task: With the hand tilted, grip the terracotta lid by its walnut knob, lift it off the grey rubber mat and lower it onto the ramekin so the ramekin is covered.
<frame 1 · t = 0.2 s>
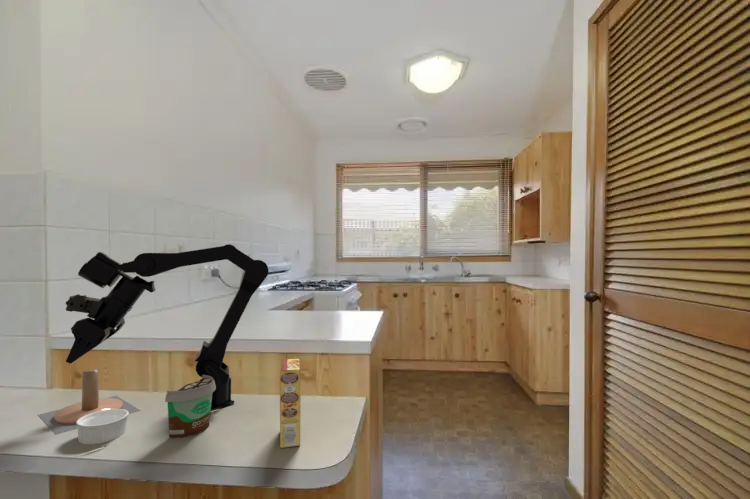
hand: (75, 357, 85), 15 cm above the countertop, tool tilted 35°, fingers open, 9 cm apart
ramekin: (102, 438, 78), on the countertop
mat: (89, 414, 89), on the countertop
food container: (197, 430, 82), on the countertop
lid: (89, 412, 89), resting on mat
candy box: (289, 438, 78), on the countertop
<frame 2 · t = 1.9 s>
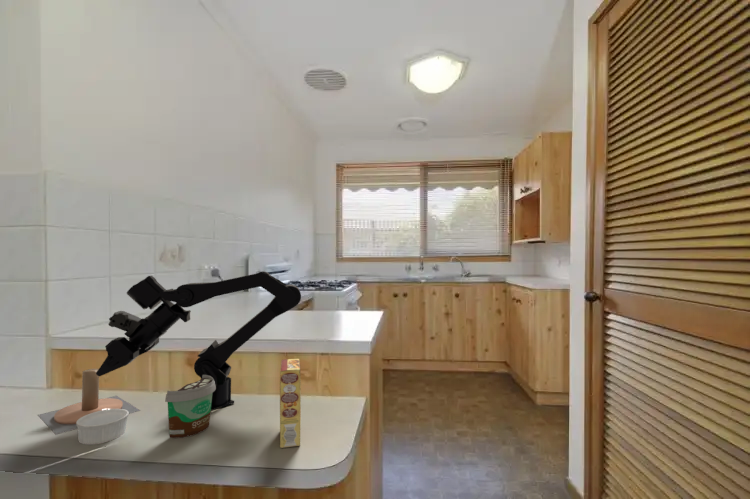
hand: (107, 369, 90), 10 cm above the countertop, tool tilted 45°, fingers open, 9 cm apart
nothing on the countertop moved.
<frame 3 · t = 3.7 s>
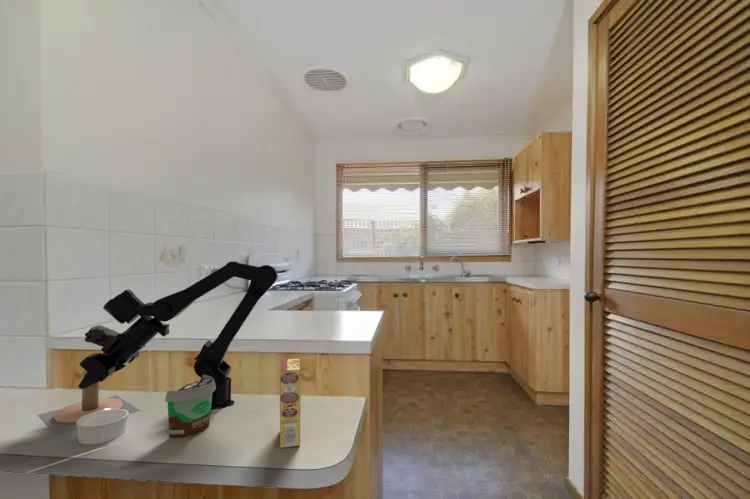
hand: (83, 385, 89), 7 cm above the countertop, tool tilted 45°, fingers closed on lid, 3 cm apart
lid: (89, 412, 89), resting on mat, touching gripper
everything else where it was.
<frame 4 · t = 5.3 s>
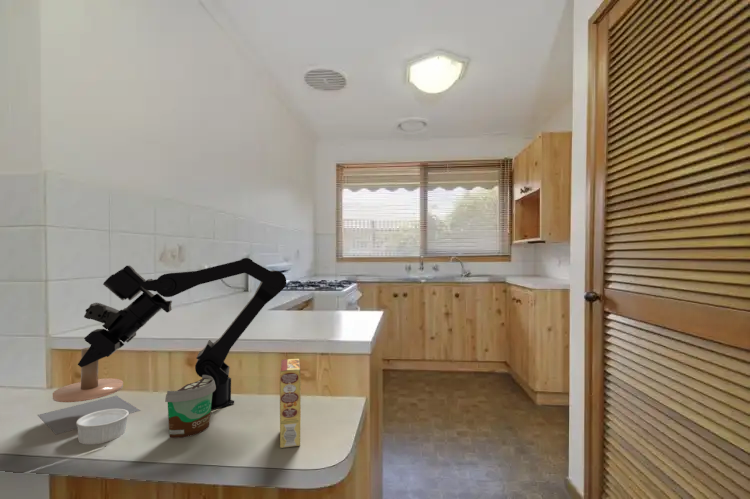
hand: (82, 363, 86), 13 cm above the countertop, tool tilted 45°, fingers closed on lid, 3 cm apart
lid: (89, 391, 87), point 6 cm above the countertop, touching gripper
everything else where it was.
when the fingers open (11 cm above the countertop, at t = 7.0 s): lid stays where it is, resting on ramekin.
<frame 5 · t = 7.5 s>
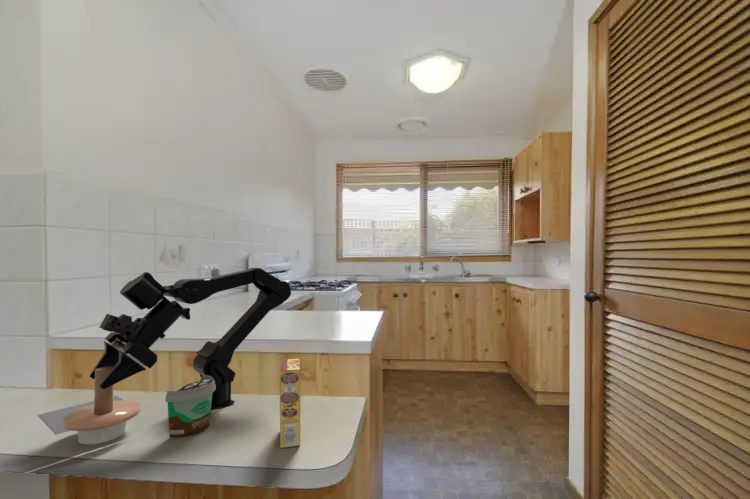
hand: (96, 382, 77), 12 cm above the countertop, tool tilted 45°, fingers open, 9 cm apart
ramekin: (102, 438, 78), on the countertop, touching lid
lid: (103, 416, 78), point 4 cm above the countertop, touching ramekin
everything else where it was.
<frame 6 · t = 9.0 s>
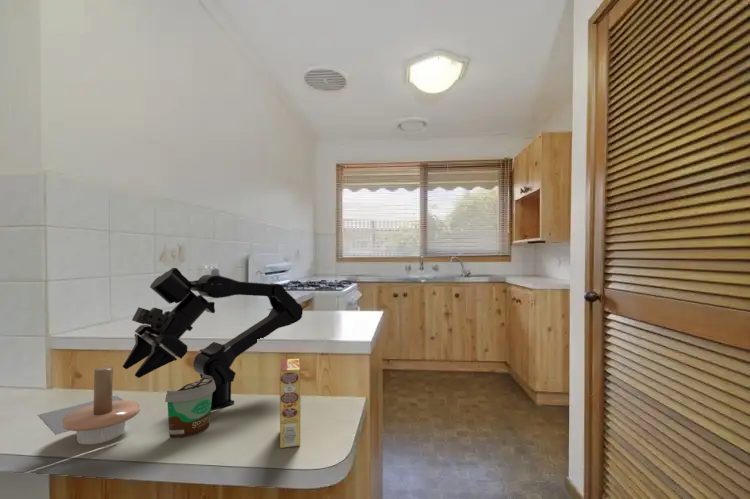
hand: (130, 372, 82), 12 cm above the countertop, tool tilted 45°, fingers open, 9 cm apart
nothing on the countertop moved.
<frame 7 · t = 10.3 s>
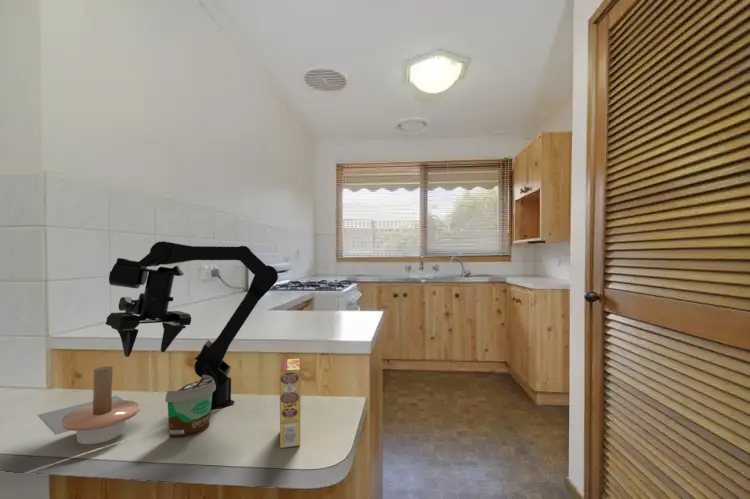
hand: (145, 354, 92), 14 cm above the countertop, tool pointing down, fingers open, 9 cm apart
nothing on the countertop moved.
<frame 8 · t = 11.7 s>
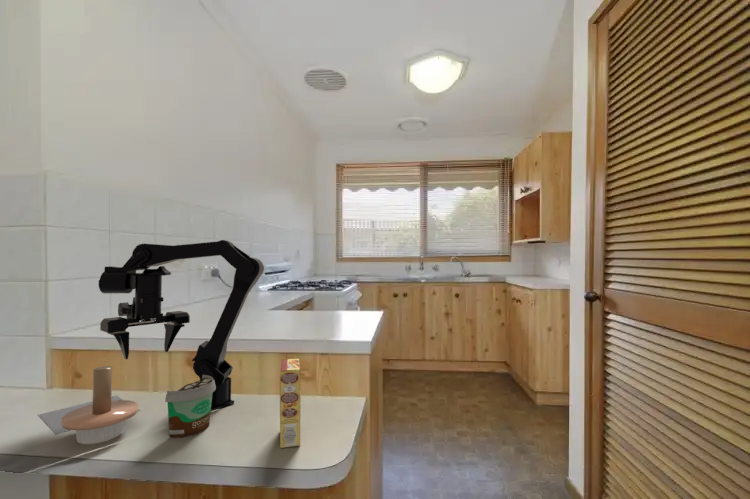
hand: (147, 355, 94), 13 cm above the countertop, tool pointing down, fingers open, 9 cm apart
nothing on the countertop moved.
at the end: lid 0.0 cm from the ramekin (horizontally); lid point 4.1 cm above the countertop; lid tilted 0° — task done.
